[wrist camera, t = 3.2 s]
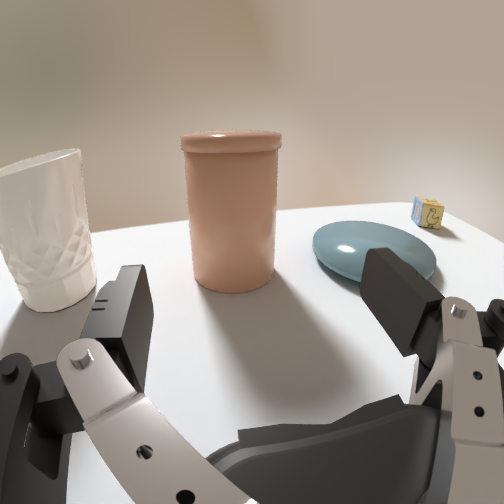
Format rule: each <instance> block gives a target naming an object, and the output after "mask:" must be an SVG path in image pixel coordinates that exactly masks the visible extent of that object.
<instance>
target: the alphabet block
mask: <svg viewBox="0 0 504 504" xmlns="http://www.w3.org/2000/svg"><path fill="white" fill-rule="evenodd" d="M443 211H444V206H443V205H442V204H440V203H439V202H437V201H436V200H432V199H427V198H420V197H415V199H414V204H413V210H412V215H411V219H412V220H413V221H414V222H415V223H416V224H417V225H418V226H422V227H429V228H435V229H440V225H441V221H442V216H443Z"/></svg>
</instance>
